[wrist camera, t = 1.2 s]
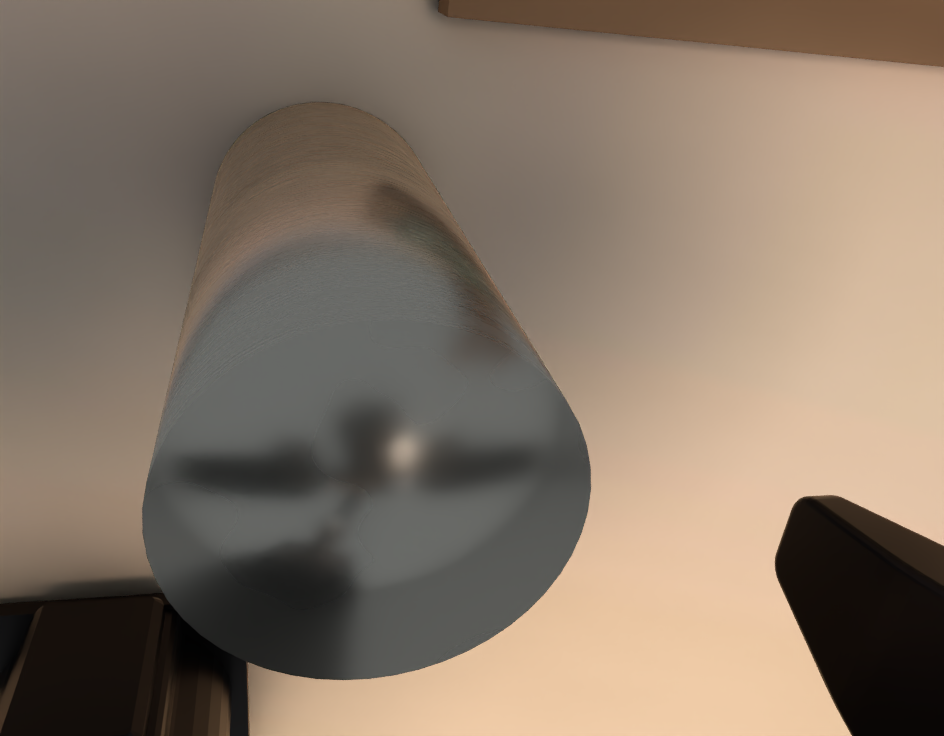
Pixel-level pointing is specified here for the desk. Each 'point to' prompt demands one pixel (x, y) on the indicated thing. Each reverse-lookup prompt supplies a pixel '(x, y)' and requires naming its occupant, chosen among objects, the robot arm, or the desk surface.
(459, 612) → the peg
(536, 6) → the dock board
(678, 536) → the desk surface
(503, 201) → the desk surface
